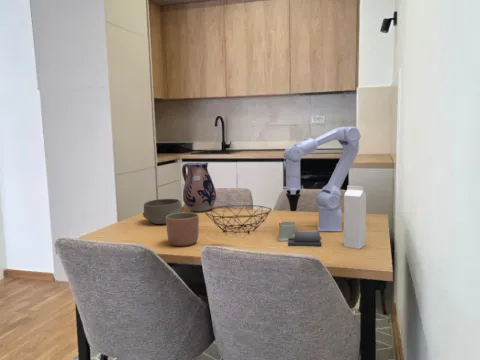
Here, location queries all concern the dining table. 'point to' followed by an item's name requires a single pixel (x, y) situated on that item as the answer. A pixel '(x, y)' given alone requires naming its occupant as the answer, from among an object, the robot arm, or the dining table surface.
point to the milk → (354, 217)
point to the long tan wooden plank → (280, 221)
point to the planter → (182, 228)
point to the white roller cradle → (286, 231)
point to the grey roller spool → (307, 237)
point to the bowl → (161, 209)
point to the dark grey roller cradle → (301, 243)
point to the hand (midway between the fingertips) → (293, 209)
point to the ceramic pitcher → (198, 187)
